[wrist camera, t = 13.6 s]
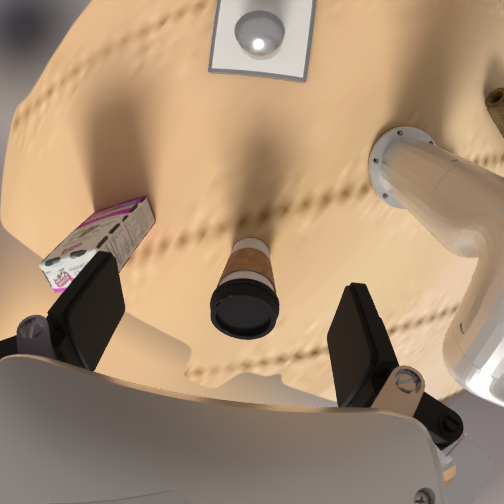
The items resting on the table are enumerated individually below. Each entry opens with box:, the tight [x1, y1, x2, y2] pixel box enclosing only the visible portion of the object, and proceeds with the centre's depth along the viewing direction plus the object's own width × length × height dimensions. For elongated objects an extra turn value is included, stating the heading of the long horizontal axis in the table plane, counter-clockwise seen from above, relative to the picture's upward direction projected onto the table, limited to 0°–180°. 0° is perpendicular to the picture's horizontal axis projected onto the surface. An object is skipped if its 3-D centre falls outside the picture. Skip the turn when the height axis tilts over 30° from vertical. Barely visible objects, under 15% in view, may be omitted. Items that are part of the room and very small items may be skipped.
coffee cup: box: [210, 238, 279, 340], centre depth 39 cm, size 8×8×15 cm
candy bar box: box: [39, 196, 156, 293], centre depth 36 cm, size 11×5×16 cm, turn 104°
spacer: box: [234, 10, 285, 60], centre depth 24 cm, size 5×5×6 cm
